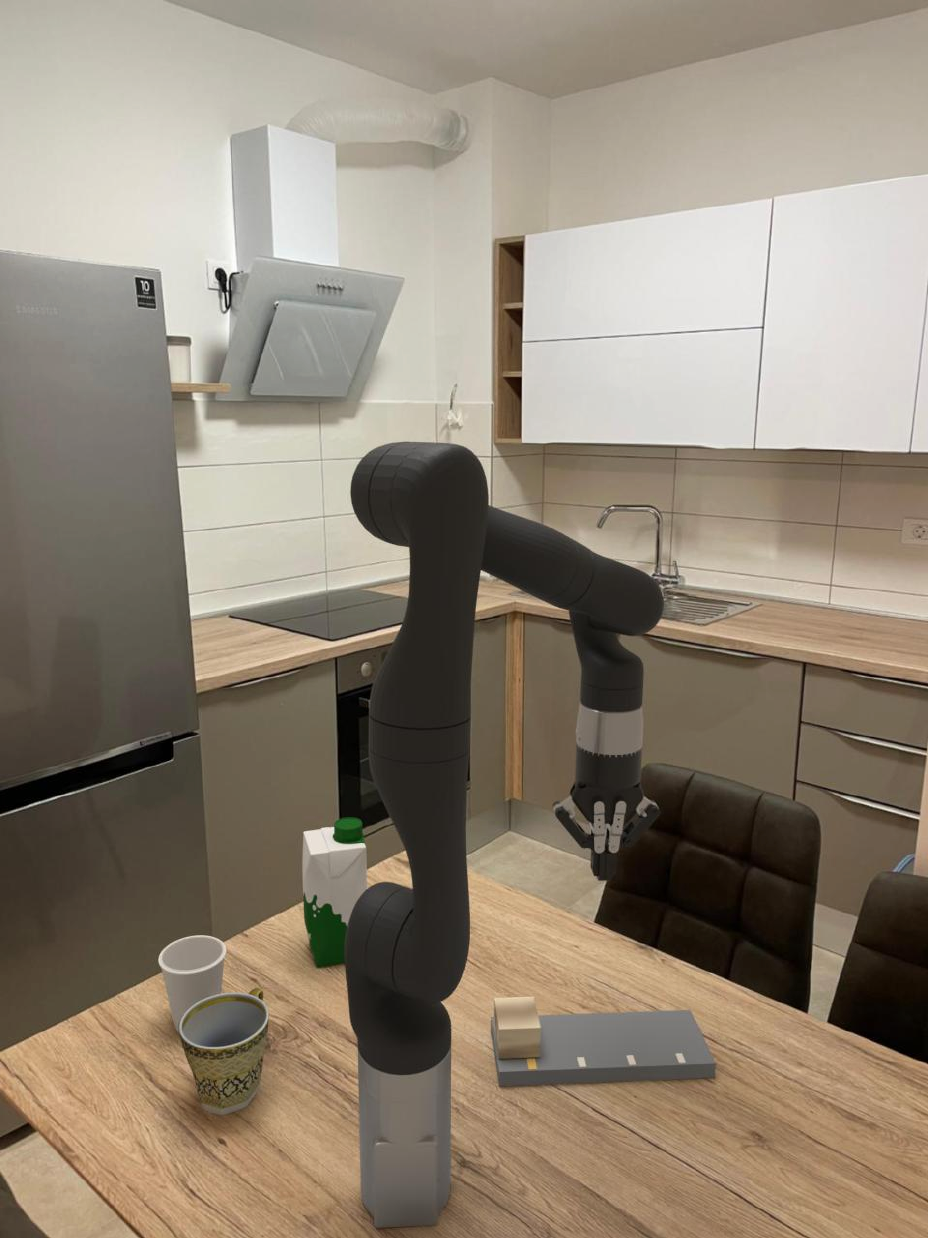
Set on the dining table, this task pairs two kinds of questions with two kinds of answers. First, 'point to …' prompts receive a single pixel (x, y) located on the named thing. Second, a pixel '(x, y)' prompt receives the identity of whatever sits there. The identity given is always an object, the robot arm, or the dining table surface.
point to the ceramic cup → (226, 1048)
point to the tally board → (611, 1049)
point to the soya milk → (332, 885)
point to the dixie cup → (192, 971)
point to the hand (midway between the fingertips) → (603, 877)
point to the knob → (516, 1027)
